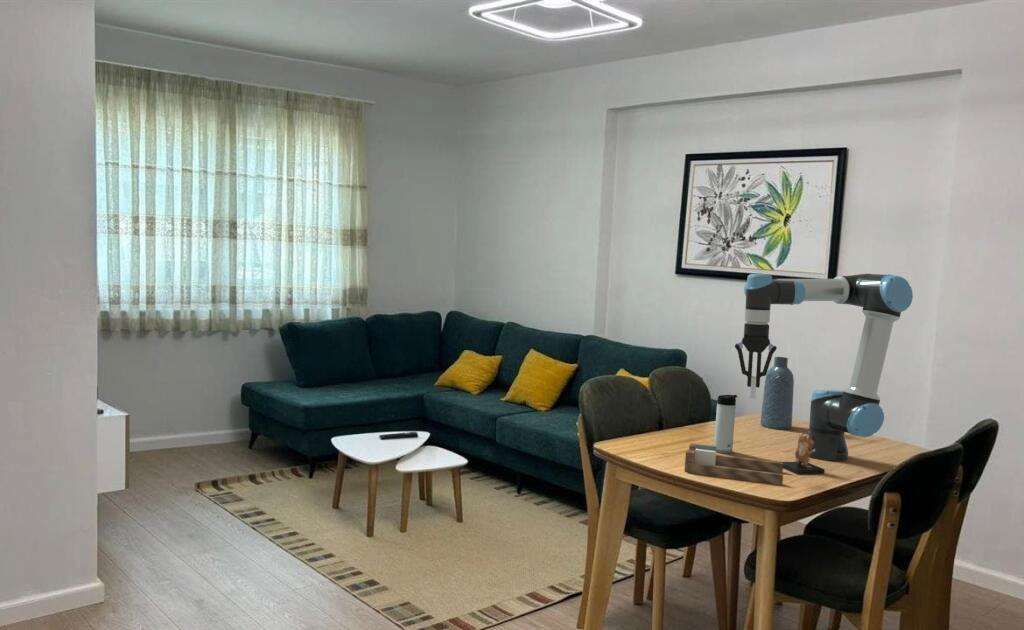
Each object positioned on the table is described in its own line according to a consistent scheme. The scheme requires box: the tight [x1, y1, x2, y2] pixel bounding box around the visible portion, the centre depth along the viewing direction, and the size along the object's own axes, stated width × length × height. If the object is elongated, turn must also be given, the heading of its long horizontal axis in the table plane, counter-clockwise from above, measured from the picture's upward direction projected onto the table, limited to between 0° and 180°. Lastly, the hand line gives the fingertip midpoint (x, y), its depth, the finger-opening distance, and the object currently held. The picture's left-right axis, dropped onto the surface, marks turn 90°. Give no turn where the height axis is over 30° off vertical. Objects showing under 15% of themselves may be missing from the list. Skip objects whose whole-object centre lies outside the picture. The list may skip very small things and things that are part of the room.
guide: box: [684, 443, 784, 486], centre depth 264 cm, size 29×17×6 cm, turn 72°
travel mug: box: [713, 394, 738, 455], centre depth 292 cm, size 6×7×20 cm
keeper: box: [694, 443, 717, 466], centre depth 267 cm, size 6×6×7 cm
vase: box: [759, 356, 795, 430], centre depth 342 cm, size 12×12×28 cm
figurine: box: [780, 432, 826, 476], centre depth 272 cm, size 10×10×12 cm
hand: (752, 397), depth 267 cm, fingers closed
